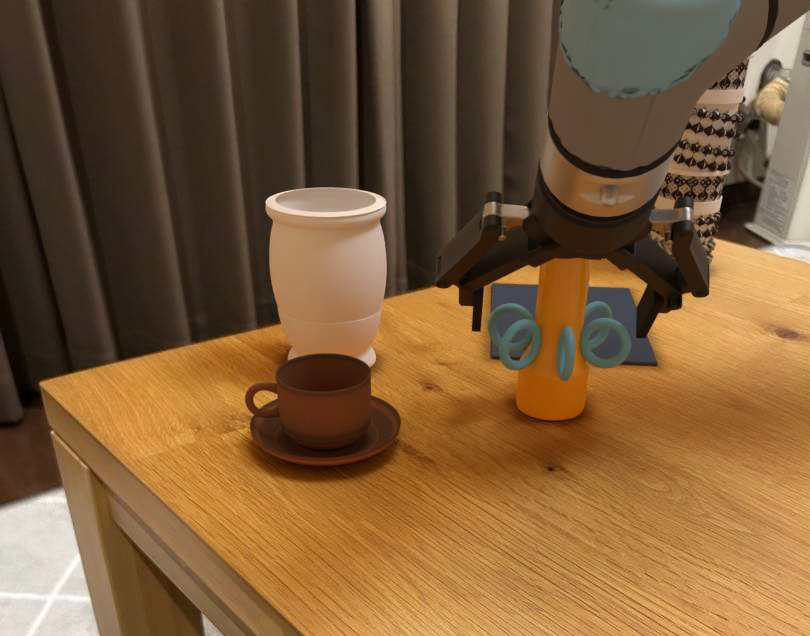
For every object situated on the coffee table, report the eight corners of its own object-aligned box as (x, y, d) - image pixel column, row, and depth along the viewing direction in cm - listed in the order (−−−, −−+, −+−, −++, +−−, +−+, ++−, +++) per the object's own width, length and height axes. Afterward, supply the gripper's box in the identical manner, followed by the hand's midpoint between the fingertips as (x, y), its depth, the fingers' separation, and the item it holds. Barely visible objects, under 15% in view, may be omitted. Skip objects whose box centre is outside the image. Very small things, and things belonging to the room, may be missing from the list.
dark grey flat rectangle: (657, 365, 83) (657, 362, 83) (491, 358, 85) (491, 355, 84) (628, 290, 102) (629, 288, 101) (492, 285, 103) (492, 282, 102)
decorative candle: (635, 254, 113) (670, 34, 99) (708, 258, 112) (754, 36, 98) (638, 276, 106) (677, 41, 91) (717, 281, 105) (768, 44, 90)
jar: (404, 352, 86) (406, 193, 77) (356, 392, 78) (352, 220, 69) (311, 334, 89) (302, 180, 81) (256, 371, 81) (240, 205, 73)
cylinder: (535, 449, 69) (555, 261, 61) (458, 401, 77) (466, 227, 68) (643, 412, 75) (675, 236, 67) (562, 371, 82) (581, 207, 74)
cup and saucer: (274, 492, 64) (267, 417, 60) (237, 423, 73) (229, 353, 69) (423, 463, 67) (425, 390, 64) (370, 400, 77) (369, 333, 73)
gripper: (389, 216, 52) (406, 355, 72) (818, 230, 50) (710, 368, 71) (397, 104, 53) (412, 272, 74) (816, 114, 51) (710, 283, 72)
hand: (558, 320), depth 72 cm, fingers open, 13 cm apart
